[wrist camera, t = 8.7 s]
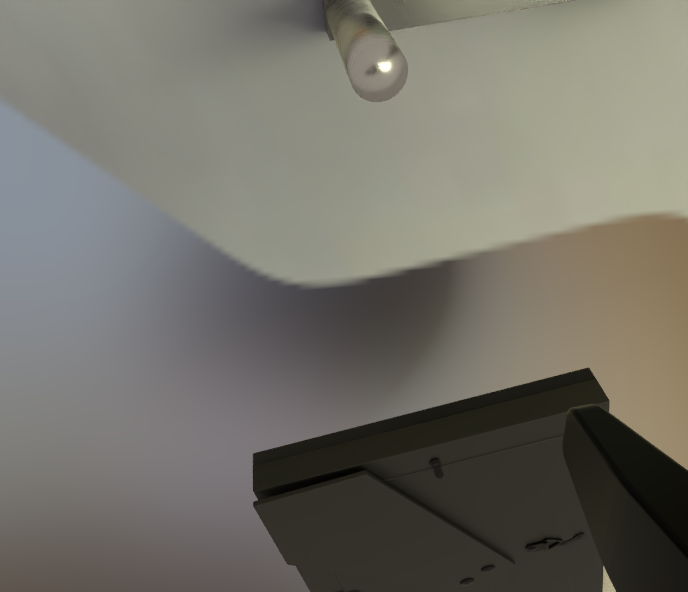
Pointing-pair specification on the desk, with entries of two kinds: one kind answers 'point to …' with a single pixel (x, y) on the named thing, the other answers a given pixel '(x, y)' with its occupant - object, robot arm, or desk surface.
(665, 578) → the robot arm
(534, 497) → the picture frame
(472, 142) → the desk surface
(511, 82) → the desk surface
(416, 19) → the chassis
